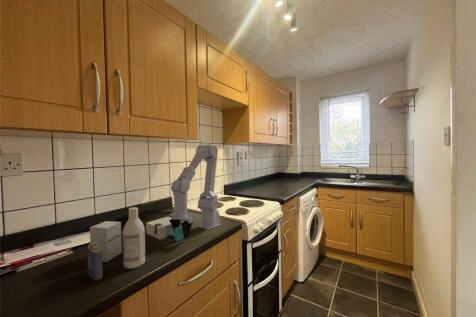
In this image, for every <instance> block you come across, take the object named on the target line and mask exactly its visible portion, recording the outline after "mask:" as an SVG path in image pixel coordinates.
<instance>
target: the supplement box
mask: <svg viewBox="0 0 476 317" xmlns="http://www.w3.org/2000/svg"><path fill="white" fill-rule="evenodd" d="M92 242H94V243H96V242H97V244H96V245H97V247H98V248H99V249H102V263H108V262H109V261H110V260H112V259H113V258H115V257H117V256H119V255H120V254H122V221H109V220H106V221H105V220H104V221H103V222H99V223H98V224H95V225H92V226H90V227H89V244H90V243H91V244H92Z"/></svg>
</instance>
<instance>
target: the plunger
mask: <svg viewBox="0 0 476 317" xmlns="http://www.w3.org/2000/svg"><path fill="white" fill-rule="evenodd" d="M158 226H161V224H160V223H158V224H155V234H157V227H158Z"/></svg>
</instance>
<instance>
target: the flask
mask: <svg viewBox="0 0 476 317" xmlns="http://www.w3.org/2000/svg"><path fill="white" fill-rule="evenodd" d="M96 244H97V242H96V243H94V242H92V244H91V243H90V242H89V244H88V245H87V276H88V277H89V278H90V279H91V280H93V281H100V280H101V279H103V277H104V276H103V275H104V273H103V262H102V249H99V248H98V247H97V245H96Z"/></svg>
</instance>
